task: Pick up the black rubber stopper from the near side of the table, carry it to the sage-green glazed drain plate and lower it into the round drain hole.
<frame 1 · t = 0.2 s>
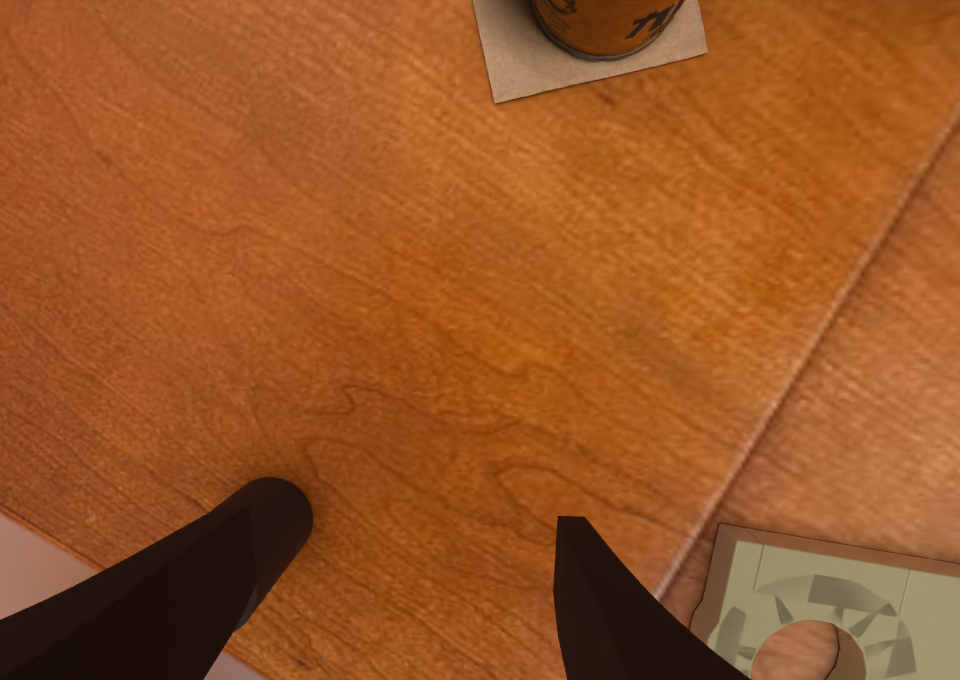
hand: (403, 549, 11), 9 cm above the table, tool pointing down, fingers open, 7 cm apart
drain plate: (922, 671, 21), on the table
stopper: (271, 518, 20), on the table
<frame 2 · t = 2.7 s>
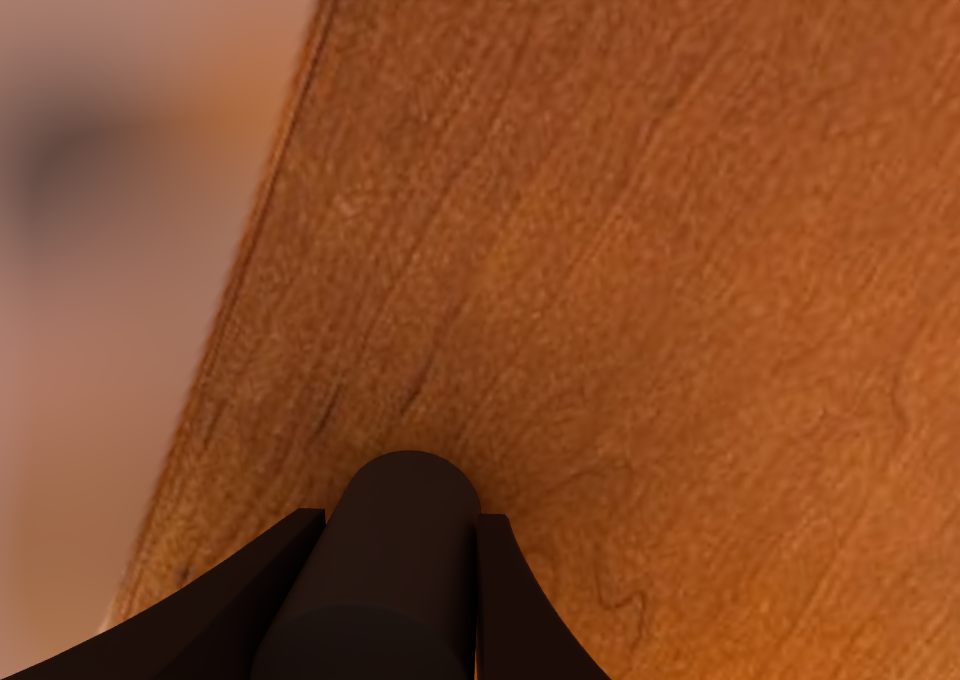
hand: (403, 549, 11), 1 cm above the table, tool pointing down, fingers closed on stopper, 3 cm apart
stopper: (412, 513, 12), on the table, touching gripper
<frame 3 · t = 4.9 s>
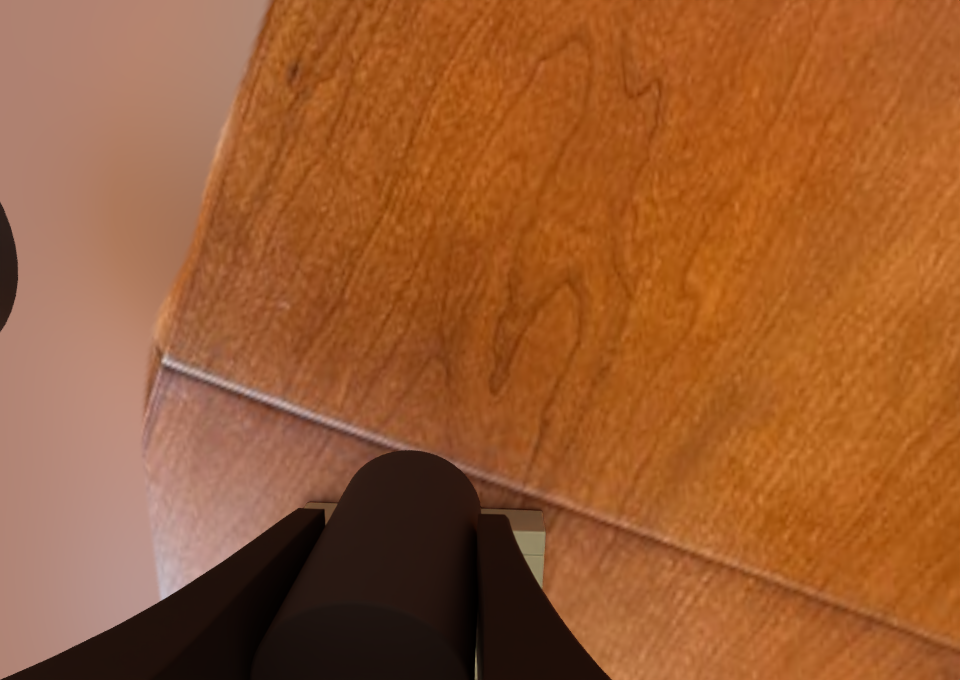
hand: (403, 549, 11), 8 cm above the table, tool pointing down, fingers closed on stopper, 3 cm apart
stopper: (412, 512, 12), point 7 cm above the table, touching gripper
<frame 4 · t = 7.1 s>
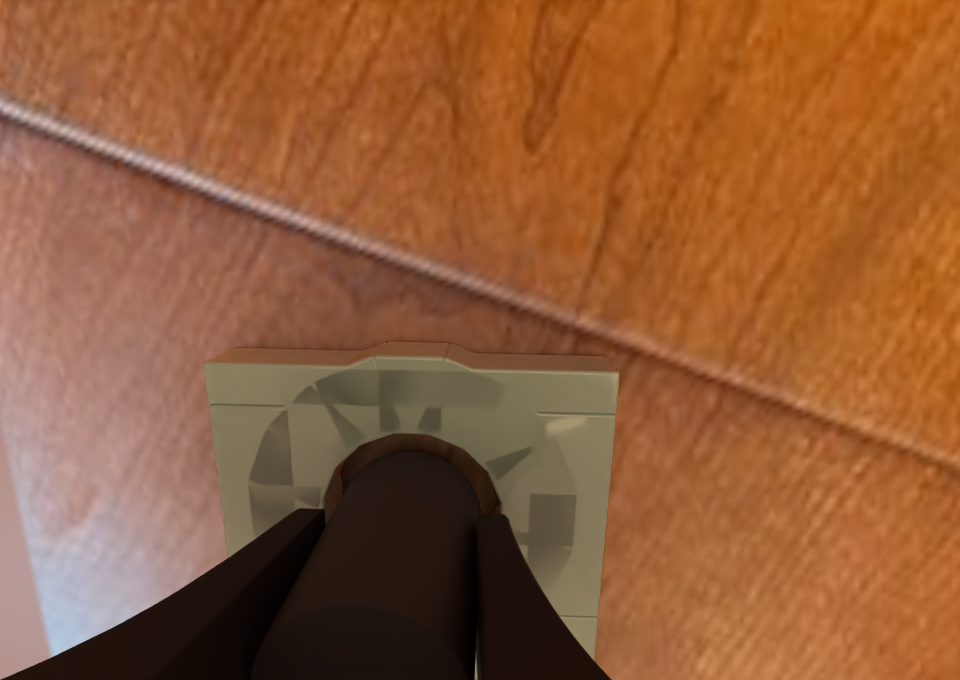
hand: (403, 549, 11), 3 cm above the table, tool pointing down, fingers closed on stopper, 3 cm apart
drain plate: (423, 655, 15), on the table
stopper: (412, 513, 12), point 1 cm above the table, touching gripper
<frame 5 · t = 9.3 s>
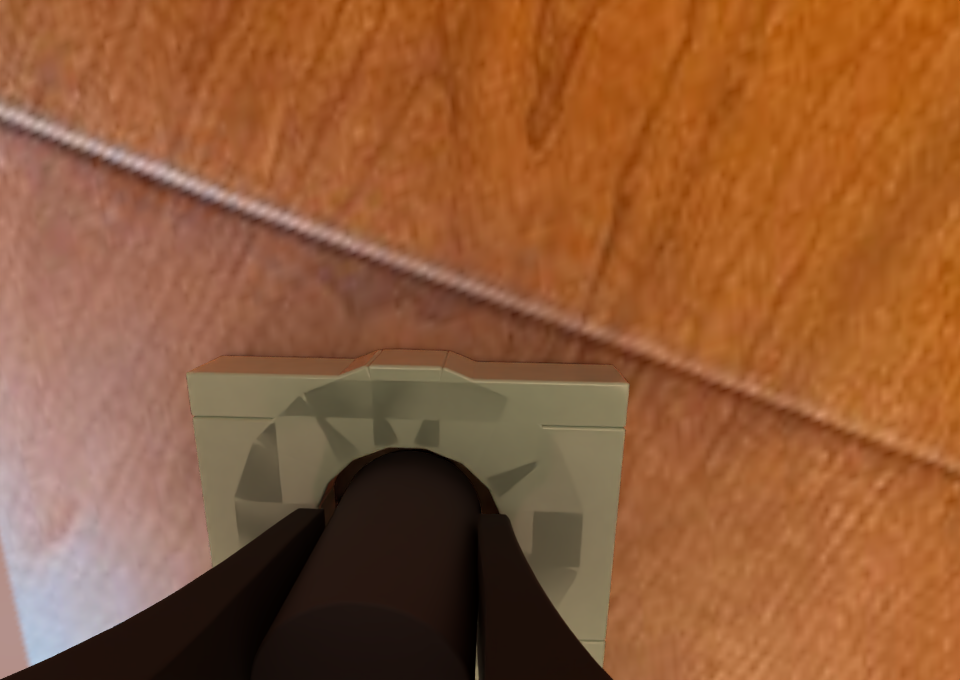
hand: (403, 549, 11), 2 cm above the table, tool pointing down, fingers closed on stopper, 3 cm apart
drain plate: (420, 677, 14), on the table
stopper: (412, 513, 12), point 1 cm above the table, touching gripper
when the fingers open (2 cm above the table, at t = 11.6 s): stopper stays where it is, resting in drain plate.
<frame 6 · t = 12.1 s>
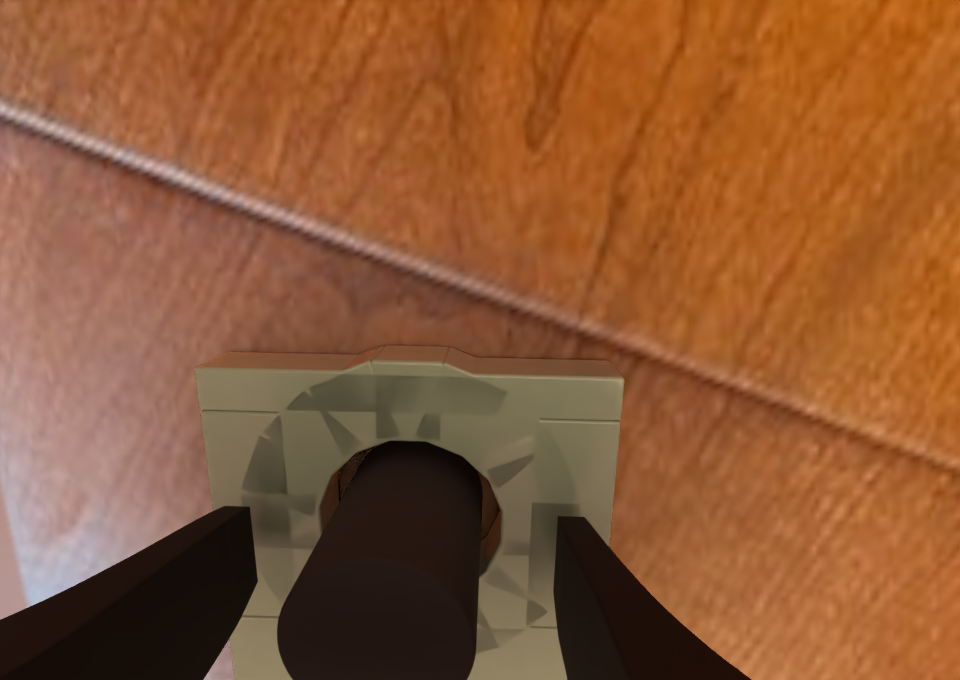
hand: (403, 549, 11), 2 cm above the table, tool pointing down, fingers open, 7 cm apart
drain plate: (421, 666, 15), on the table
stopper: (418, 493, 13), resting in drain plate
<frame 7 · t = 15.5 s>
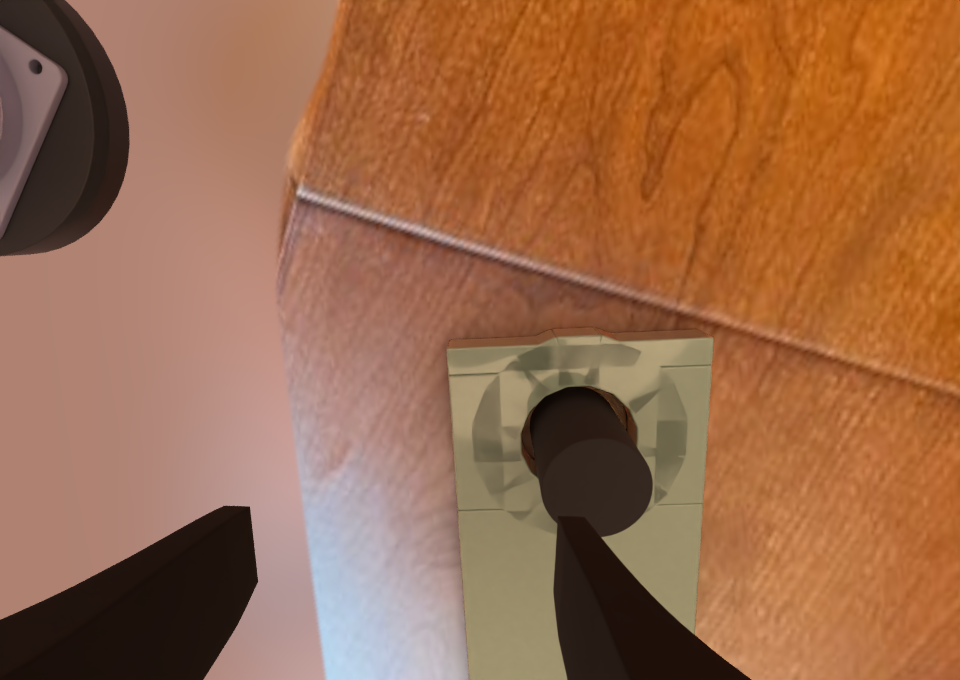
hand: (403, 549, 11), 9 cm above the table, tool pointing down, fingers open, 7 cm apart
drain plate: (573, 548, 22), on the table
stopper: (572, 426, 20), resting in drain plate
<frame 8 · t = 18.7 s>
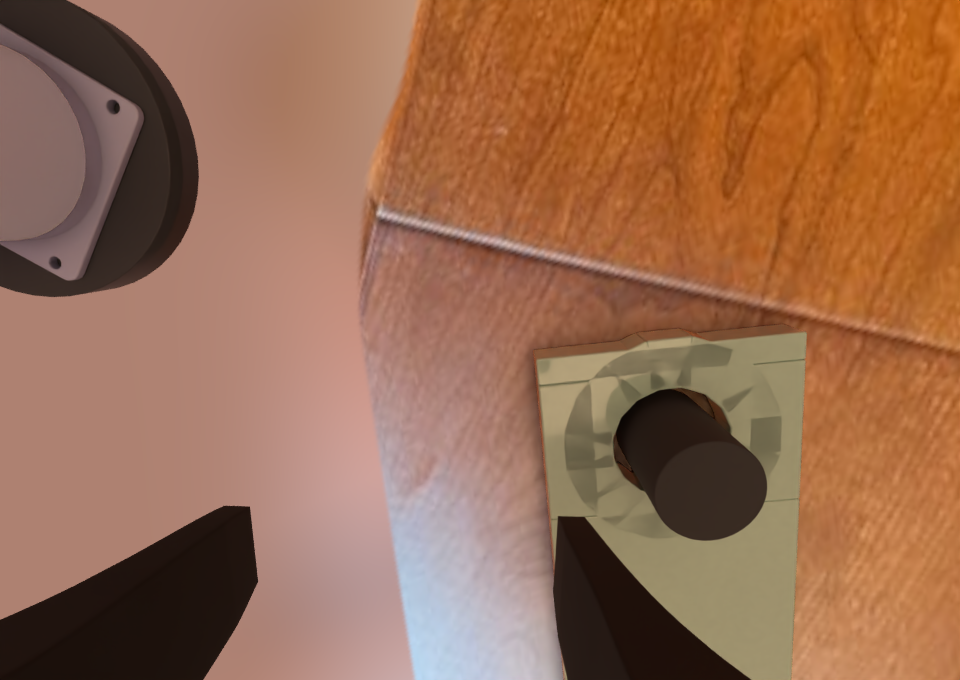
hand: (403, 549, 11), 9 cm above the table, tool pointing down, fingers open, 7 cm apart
drain plate: (663, 550, 22), on the table
stopper: (658, 428, 20), resting in drain plate
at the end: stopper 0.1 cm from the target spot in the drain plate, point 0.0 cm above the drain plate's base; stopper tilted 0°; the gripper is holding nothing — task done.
